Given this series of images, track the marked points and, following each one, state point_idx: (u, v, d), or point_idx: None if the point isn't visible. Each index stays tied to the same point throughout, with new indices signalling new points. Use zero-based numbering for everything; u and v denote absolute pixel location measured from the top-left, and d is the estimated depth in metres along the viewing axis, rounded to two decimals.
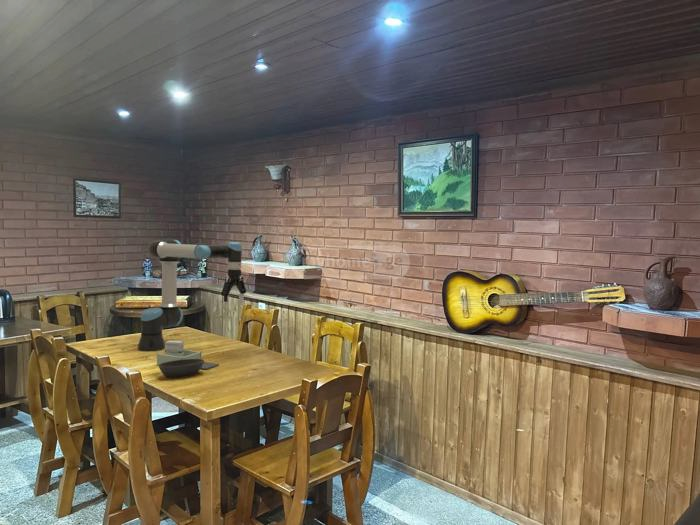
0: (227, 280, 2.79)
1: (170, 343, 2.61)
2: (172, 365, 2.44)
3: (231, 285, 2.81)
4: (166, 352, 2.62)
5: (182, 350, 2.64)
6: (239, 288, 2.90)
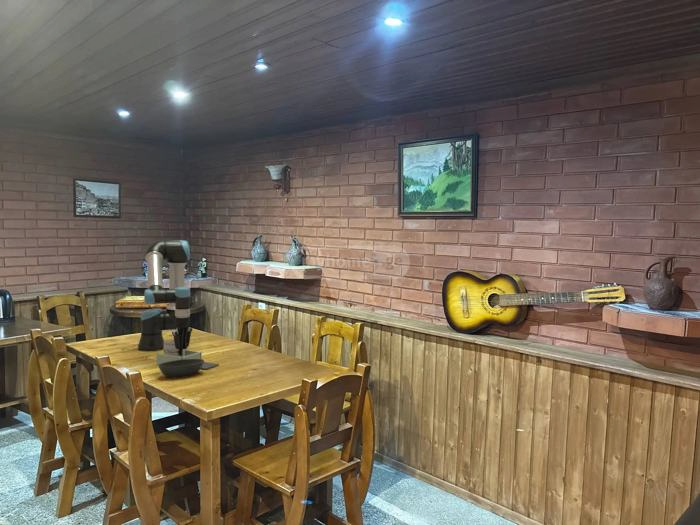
0: (175, 334, 2.56)
1: (169, 343, 2.62)
2: (172, 365, 2.44)
3: (181, 337, 2.59)
4: (165, 352, 2.62)
5: None
6: (183, 340, 2.62)
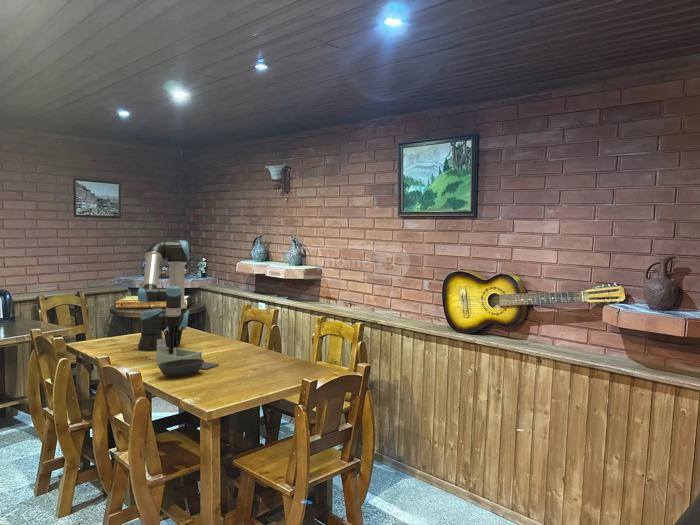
0: (165, 333, 2.58)
1: (161, 341, 2.65)
2: (172, 365, 2.44)
3: (172, 335, 2.61)
4: (157, 349, 2.66)
5: None
6: (174, 338, 2.64)
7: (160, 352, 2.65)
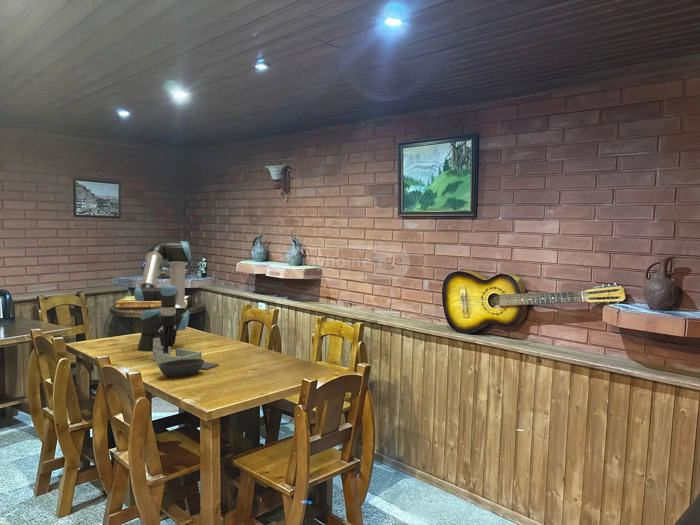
0: (160, 332, 2.59)
1: (156, 340, 2.67)
2: (172, 365, 2.44)
3: (167, 334, 2.63)
4: (153, 348, 2.68)
5: None
6: (169, 338, 2.66)
7: (155, 351, 2.67)
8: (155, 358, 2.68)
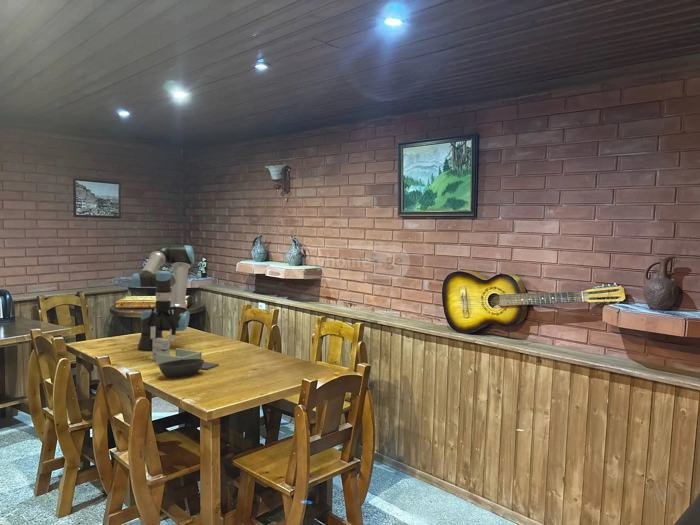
0: None
1: (156, 340, 2.67)
2: (172, 365, 2.44)
3: (155, 316, 2.66)
4: (153, 349, 2.68)
5: (167, 348, 2.67)
6: None
7: (155, 351, 2.67)
8: (155, 358, 2.68)
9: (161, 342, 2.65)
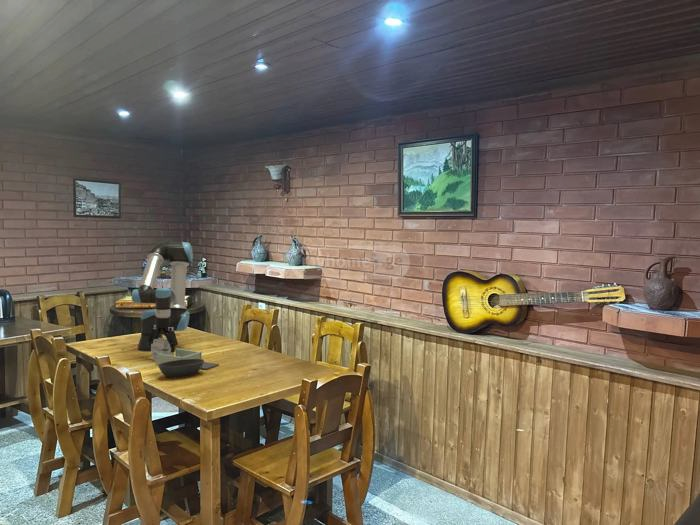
0: None
1: (156, 340, 2.67)
2: (172, 365, 2.44)
3: (155, 333, 2.67)
4: (154, 349, 2.68)
5: (168, 348, 2.67)
6: None
7: (156, 351, 2.67)
8: (156, 358, 2.67)
9: (162, 342, 2.65)
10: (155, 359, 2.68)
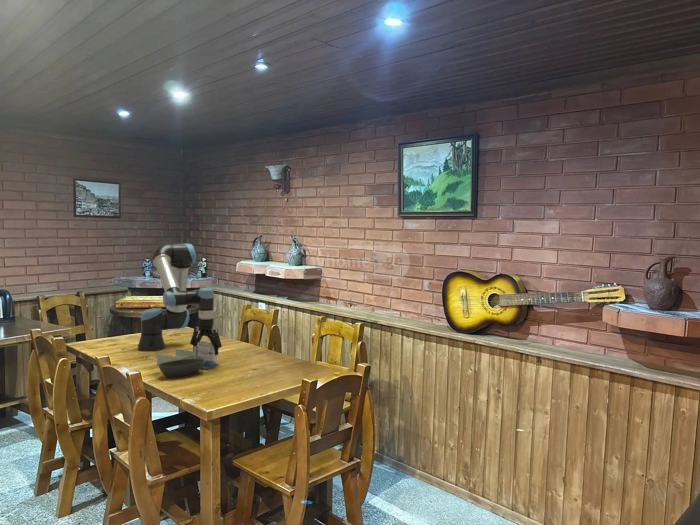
0: None
1: (202, 344, 2.59)
2: (172, 365, 2.44)
3: (198, 335, 2.59)
4: (198, 352, 2.60)
5: None
6: None
7: (201, 355, 2.59)
8: None
9: (209, 345, 2.57)
10: None
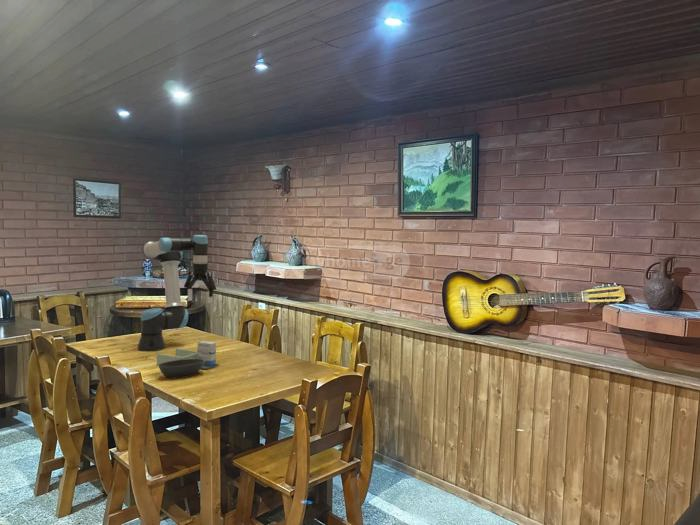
0: None
1: (202, 344, 2.59)
2: (172, 365, 2.44)
3: (192, 279, 2.73)
4: (198, 352, 2.60)
5: (214, 351, 2.60)
6: None
7: (201, 355, 2.59)
8: None
9: (209, 345, 2.57)
10: None
